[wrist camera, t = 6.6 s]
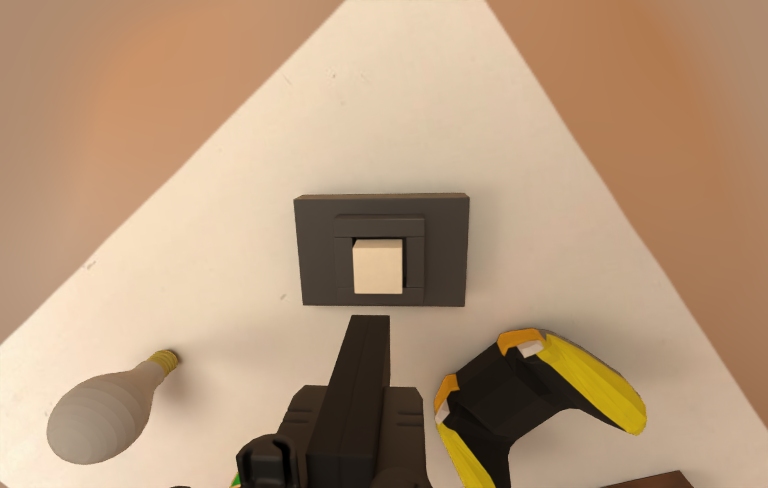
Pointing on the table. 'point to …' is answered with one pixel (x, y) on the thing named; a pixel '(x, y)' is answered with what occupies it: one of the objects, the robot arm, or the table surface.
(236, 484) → the rubik's cube
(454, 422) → the gaming controller
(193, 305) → the table surface
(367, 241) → the low key
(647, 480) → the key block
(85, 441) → the light bulb
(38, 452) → the table surface
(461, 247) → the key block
